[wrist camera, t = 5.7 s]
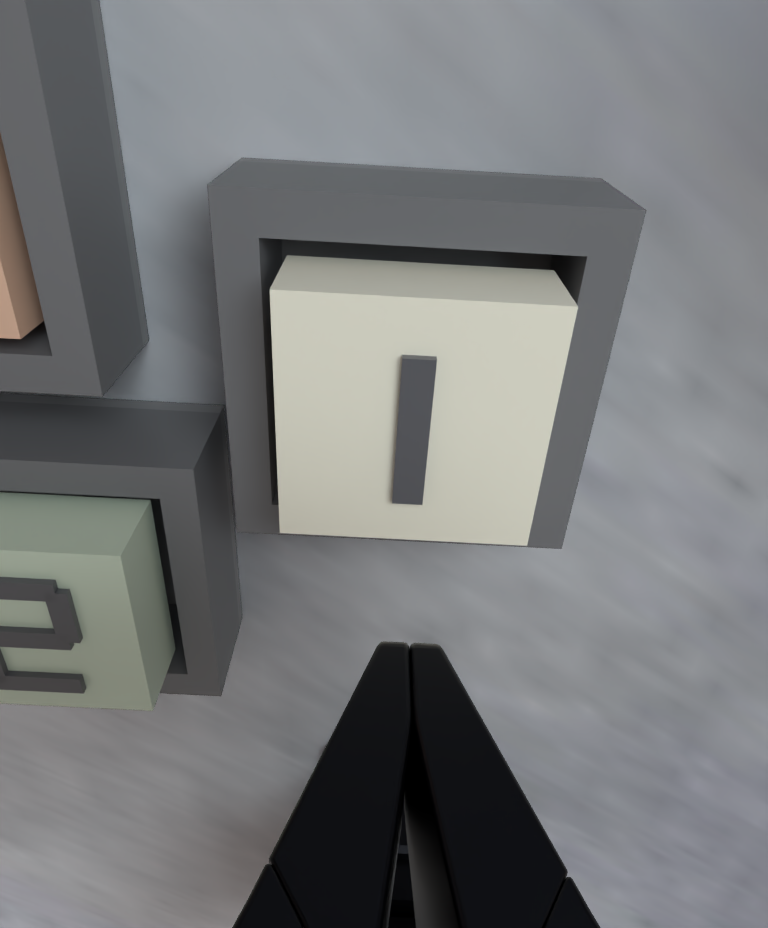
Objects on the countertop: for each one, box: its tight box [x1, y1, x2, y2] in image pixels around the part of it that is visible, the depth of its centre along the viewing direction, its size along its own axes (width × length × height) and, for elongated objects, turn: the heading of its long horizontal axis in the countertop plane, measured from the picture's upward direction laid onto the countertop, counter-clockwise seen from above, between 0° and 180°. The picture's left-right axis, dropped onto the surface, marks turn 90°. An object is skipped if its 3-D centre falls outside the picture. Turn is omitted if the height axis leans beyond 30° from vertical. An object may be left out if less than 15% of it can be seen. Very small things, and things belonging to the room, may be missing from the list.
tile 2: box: [0, 492, 176, 711], centre depth 19 cm, size 6×6×3 cm
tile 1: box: [270, 255, 578, 546], centre depth 16 cm, size 6×6×3 cm
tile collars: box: [0, 0, 646, 696], centre depth 18 cm, size 20×21×4 cm
